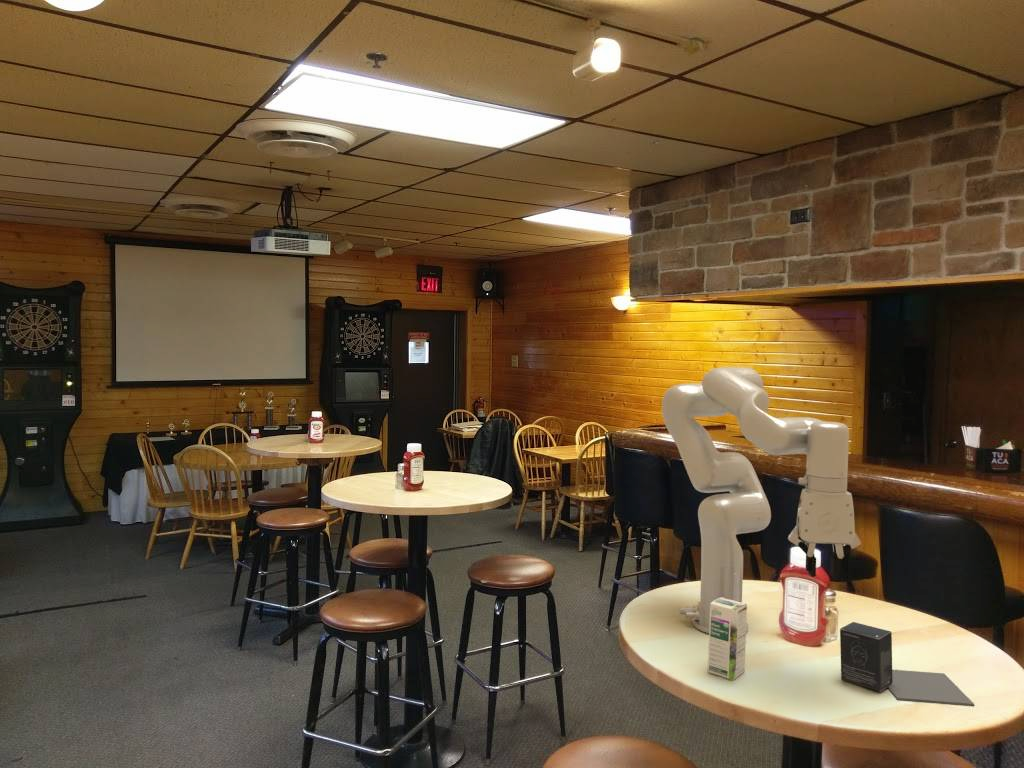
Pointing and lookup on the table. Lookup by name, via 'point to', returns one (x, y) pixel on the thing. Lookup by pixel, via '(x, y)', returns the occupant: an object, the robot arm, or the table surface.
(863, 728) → the table surface
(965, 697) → the mat
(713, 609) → the syrup box
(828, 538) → the robot arm
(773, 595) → the table surface
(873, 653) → the box
